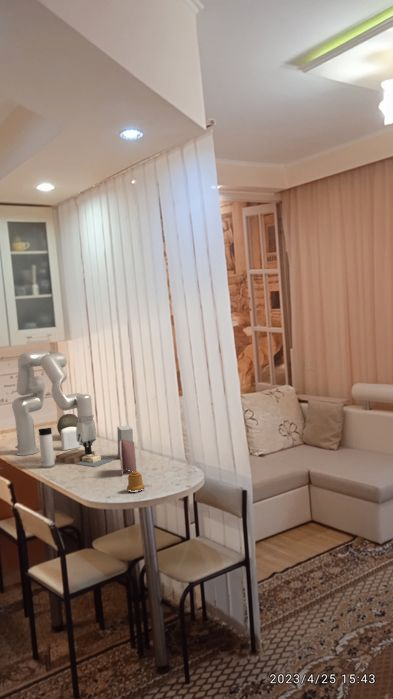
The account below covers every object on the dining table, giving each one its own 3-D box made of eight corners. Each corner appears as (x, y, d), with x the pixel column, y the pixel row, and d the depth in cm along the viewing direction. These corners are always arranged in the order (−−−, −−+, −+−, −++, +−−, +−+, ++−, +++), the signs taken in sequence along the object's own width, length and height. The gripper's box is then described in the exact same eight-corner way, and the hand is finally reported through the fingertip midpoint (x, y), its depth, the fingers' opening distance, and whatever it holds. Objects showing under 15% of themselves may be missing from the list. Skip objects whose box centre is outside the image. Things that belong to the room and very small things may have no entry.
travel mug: (42, 469, 290) (38, 429, 288) (42, 465, 296) (38, 427, 295) (55, 467, 292) (51, 427, 290) (54, 464, 298) (51, 425, 296)
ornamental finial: (132, 487, 251) (148, 488, 248) (123, 492, 244) (139, 494, 241) (131, 468, 250) (146, 469, 247) (122, 474, 243) (138, 475, 240)
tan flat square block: (56, 461, 303) (55, 455, 303) (76, 454, 315) (75, 449, 314) (74, 464, 295) (74, 458, 295) (94, 457, 306) (94, 451, 306)
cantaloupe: (53, 441, 352) (51, 416, 351) (67, 435, 365) (64, 411, 364) (72, 441, 346) (70, 416, 345) (86, 436, 359) (84, 412, 358)
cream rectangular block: (82, 461, 298) (81, 456, 298) (89, 458, 303) (89, 454, 302) (93, 462, 293) (92, 458, 293) (100, 459, 298) (100, 455, 298)
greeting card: (121, 469, 279) (119, 438, 278) (137, 468, 279) (134, 437, 278) (120, 476, 268) (117, 444, 266) (136, 475, 268) (134, 443, 267)
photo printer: (78, 446, 333) (76, 425, 332) (81, 447, 330) (79, 426, 329) (61, 449, 328) (59, 428, 327) (63, 451, 324) (61, 429, 323)
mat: (75, 464, 295) (75, 463, 295) (95, 457, 306) (95, 456, 306) (95, 467, 287) (95, 466, 287) (114, 459, 298) (114, 459, 298)
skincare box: (117, 456, 304) (115, 426, 303) (131, 454, 306) (128, 424, 305) (121, 460, 296) (119, 429, 295) (135, 458, 299) (132, 427, 297)
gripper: (90, 415, 306) (93, 450, 307) (69, 421, 293) (72, 457, 295) (101, 416, 301) (104, 451, 303) (79, 422, 289) (82, 458, 291)
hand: (88, 454), depth 299 cm, fingers closed
